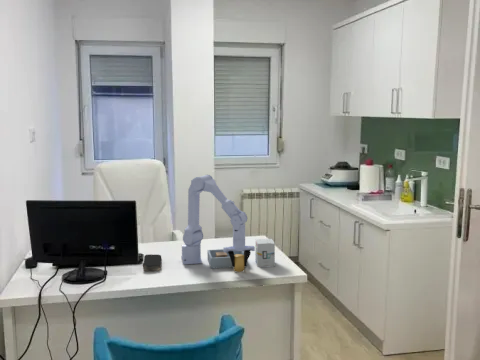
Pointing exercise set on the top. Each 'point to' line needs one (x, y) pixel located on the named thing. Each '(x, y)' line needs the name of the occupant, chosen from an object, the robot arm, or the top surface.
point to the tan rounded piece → (239, 263)
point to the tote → (220, 259)
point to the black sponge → (152, 262)
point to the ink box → (265, 253)
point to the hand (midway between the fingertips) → (239, 266)
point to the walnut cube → (221, 254)
